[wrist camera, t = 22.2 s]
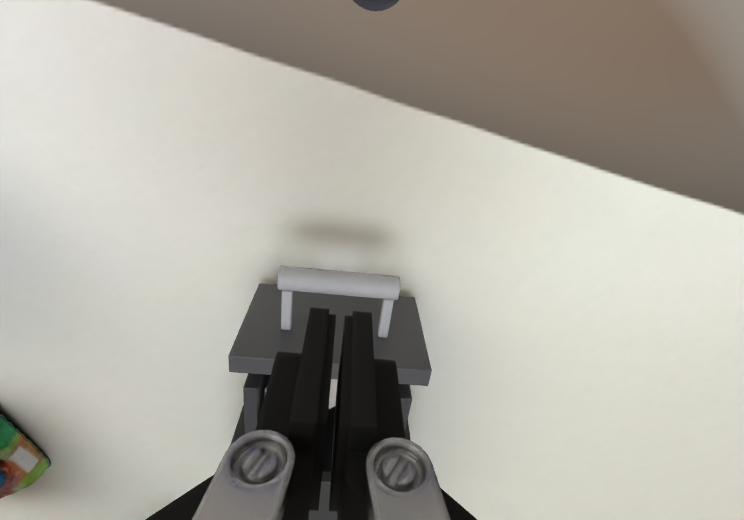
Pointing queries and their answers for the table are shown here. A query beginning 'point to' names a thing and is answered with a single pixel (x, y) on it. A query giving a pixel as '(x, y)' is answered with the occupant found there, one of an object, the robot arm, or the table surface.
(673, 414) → the table surface
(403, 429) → the robot arm
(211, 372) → the table surface
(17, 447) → the sculpture
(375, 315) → the drawer
